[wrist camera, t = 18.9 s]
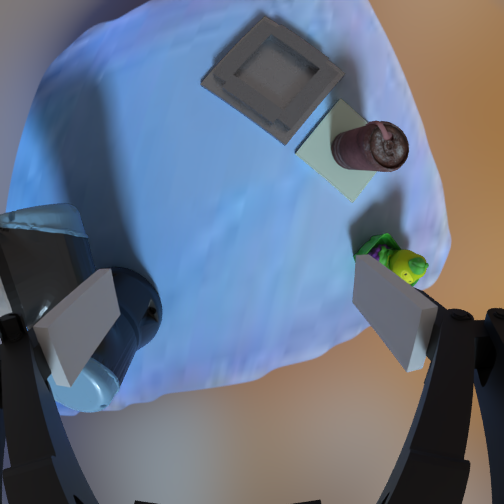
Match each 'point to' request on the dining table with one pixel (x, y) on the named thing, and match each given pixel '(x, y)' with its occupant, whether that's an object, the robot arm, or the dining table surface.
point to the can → (371, 147)
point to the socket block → (273, 79)
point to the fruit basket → (395, 258)
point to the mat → (320, 153)
